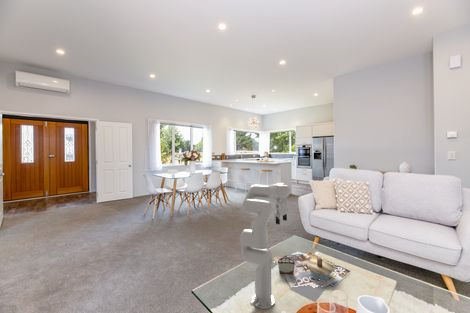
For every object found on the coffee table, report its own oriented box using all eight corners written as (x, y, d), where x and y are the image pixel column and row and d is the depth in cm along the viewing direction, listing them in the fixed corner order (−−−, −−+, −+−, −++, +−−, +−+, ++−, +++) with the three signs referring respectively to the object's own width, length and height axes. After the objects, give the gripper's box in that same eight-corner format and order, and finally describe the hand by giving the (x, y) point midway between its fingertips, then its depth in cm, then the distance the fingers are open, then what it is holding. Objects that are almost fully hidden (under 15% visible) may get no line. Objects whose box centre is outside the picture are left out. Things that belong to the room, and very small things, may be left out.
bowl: (325, 284, 136) (325, 275, 135) (307, 276, 144) (307, 268, 144) (332, 275, 144) (332, 267, 144) (314, 268, 153) (314, 260, 152)
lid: (327, 278, 133) (327, 268, 132) (303, 268, 144) (303, 259, 143) (336, 266, 144) (336, 258, 144) (313, 258, 155) (313, 250, 155)
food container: (294, 270, 151) (293, 257, 151) (295, 275, 145) (295, 261, 145) (276, 270, 153) (276, 256, 152) (277, 275, 146) (277, 261, 146)
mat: (315, 303, 120) (315, 302, 120) (289, 290, 131) (289, 289, 131) (326, 288, 132) (326, 287, 132) (301, 278, 143) (301, 276, 143)
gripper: (278, 203, 148) (279, 226, 149) (291, 197, 161) (291, 220, 162) (270, 201, 153) (270, 224, 155) (282, 196, 166) (283, 217, 167)
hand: (281, 222), depth 158 cm, fingers open, 9 cm apart
